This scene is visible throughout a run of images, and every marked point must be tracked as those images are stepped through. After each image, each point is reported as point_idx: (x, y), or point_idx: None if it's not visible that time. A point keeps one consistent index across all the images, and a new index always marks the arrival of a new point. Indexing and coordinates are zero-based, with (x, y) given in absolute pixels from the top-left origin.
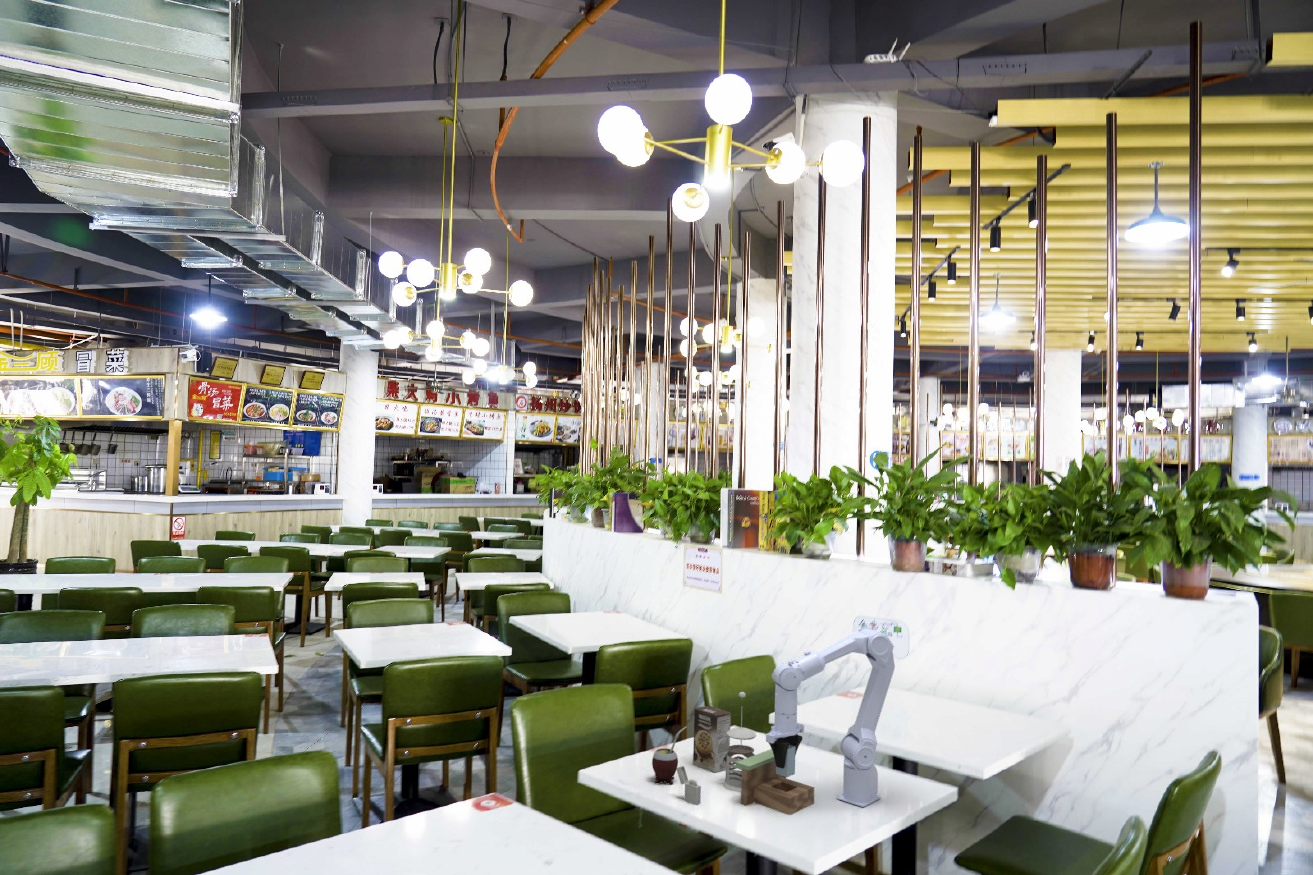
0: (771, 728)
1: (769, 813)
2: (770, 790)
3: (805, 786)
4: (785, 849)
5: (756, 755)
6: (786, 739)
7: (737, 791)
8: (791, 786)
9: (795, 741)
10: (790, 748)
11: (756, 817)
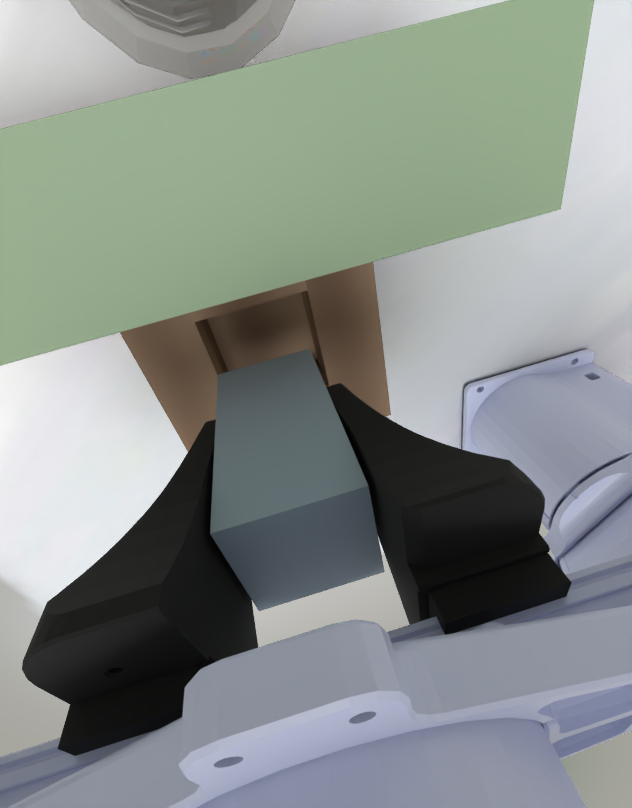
0: (184, 717)
1: (126, 388)
2: (158, 368)
3: (365, 394)
4: (41, 589)
5: (142, 124)
6: (396, 540)
7: (77, 7)
8: (319, 348)
9: (407, 611)
10: (304, 594)
11: (40, 399)
